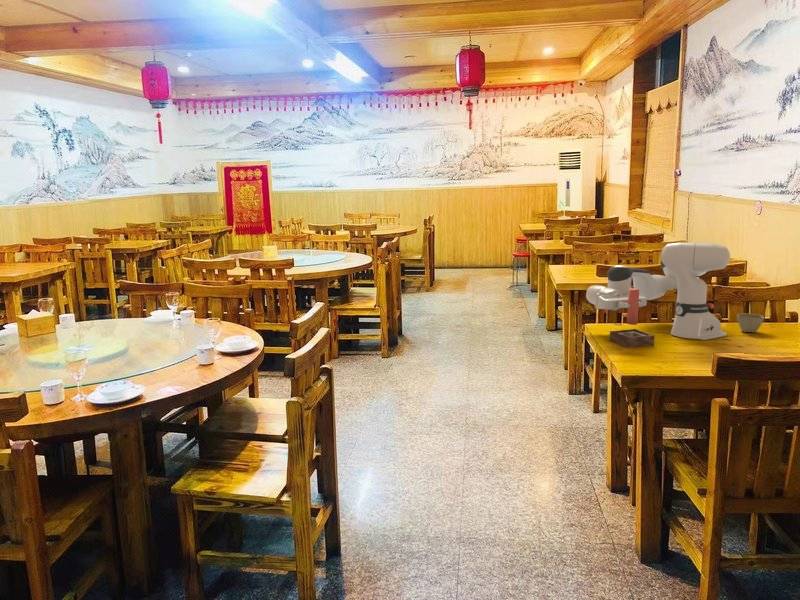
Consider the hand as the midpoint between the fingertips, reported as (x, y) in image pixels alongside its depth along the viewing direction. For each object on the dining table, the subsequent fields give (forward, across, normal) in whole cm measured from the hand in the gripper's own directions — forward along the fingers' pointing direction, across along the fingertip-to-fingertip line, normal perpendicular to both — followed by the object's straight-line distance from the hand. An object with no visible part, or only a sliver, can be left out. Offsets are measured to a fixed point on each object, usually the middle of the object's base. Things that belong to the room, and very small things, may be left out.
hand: (634, 305), depth 251 cm
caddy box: (-1, 0, -16) cm, 16 cm away
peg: (-1, 0, -8) cm, 8 cm away
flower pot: (0, -59, -16) cm, 61 cm away
